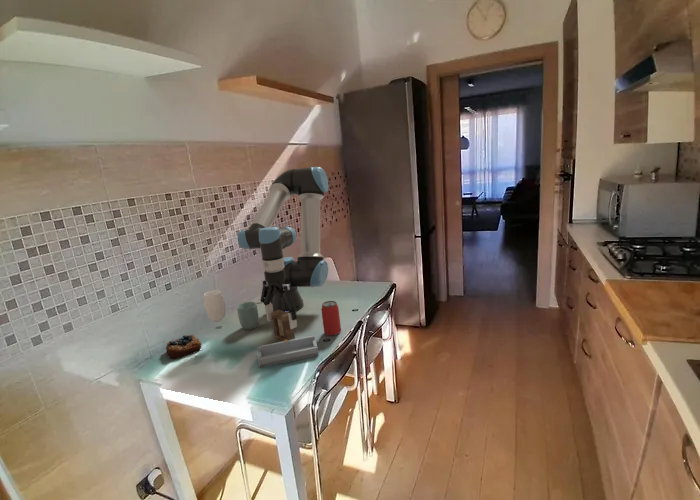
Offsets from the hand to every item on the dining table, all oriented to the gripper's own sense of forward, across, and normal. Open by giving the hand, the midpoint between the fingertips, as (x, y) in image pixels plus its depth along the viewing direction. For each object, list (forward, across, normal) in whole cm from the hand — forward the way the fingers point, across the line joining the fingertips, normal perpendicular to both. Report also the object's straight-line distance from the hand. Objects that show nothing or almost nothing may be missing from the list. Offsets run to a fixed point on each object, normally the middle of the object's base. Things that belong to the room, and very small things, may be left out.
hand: (282, 323), depth 139 cm
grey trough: (+7, +11, -7) cm, 15 cm away
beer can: (+7, +12, +14) cm, 20 cm away
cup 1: (+7, -20, -14) cm, 26 cm away
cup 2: (+7, -22, 0) cm, 23 cm away
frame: (+7, 0, 0) cm, 7 cm away
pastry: (+8, -28, -26) cm, 39 cm away
